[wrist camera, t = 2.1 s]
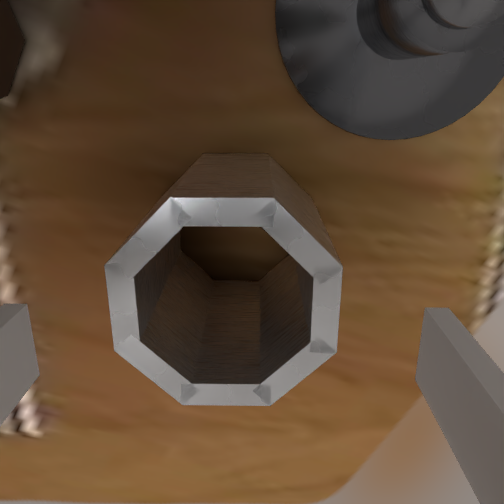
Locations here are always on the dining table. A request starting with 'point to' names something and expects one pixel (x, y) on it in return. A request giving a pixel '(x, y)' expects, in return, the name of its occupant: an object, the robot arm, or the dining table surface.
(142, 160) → the dining table surface
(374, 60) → the duct stub
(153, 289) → the sleeve
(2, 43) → the beer bottle
